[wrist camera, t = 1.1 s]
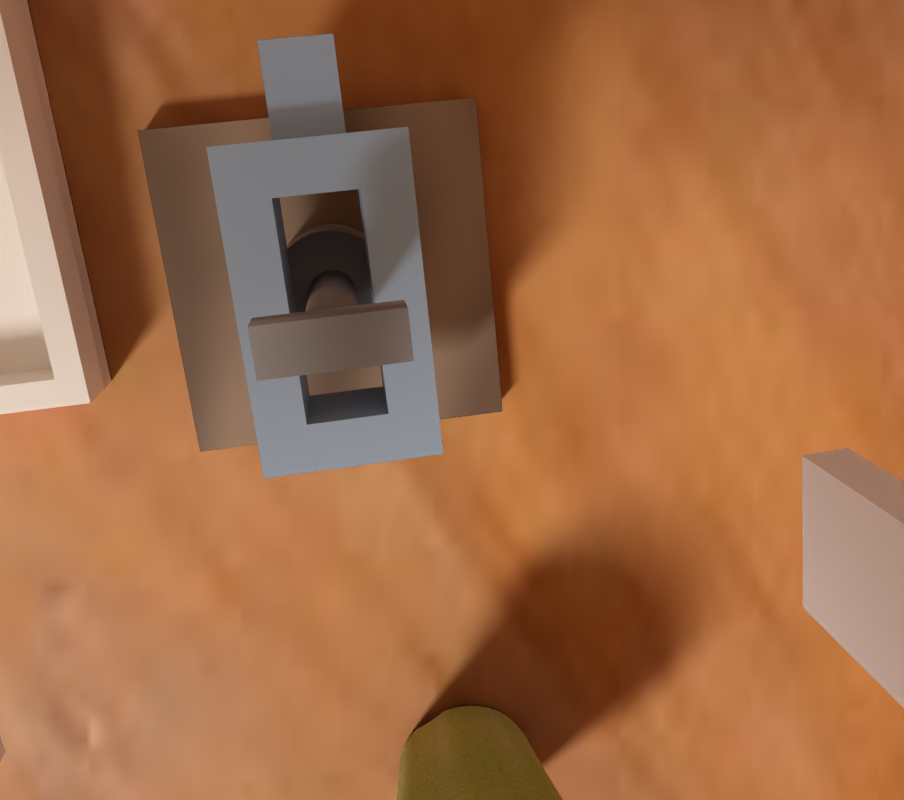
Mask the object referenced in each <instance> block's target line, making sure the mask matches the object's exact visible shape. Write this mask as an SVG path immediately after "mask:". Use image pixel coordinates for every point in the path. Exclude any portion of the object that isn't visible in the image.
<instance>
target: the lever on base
mask: <svg viewBox="0 0 904 800" xmlns="http://www.w3.org/2000/svg"><path fill="white" fill-rule="evenodd" d="M343 114H344V122H345V130H346V133H351V132H361V131H371V130H381V129H391V128H401V127H408V130H409V139H410V148H411V158H412V167H413V176H414V186H415V195H416V204H417V214H418V223H419V232H420V241H421V251H422V260H423V269H424V279H425V288H426V297H427V307H428V316H429V325H430V334H431V344H432V353H433V362H434V372H435V381H436V390H437V399H438V409H439V418H440V420H441V419H448V418H456V417H463V416H471V415H478V414H486V413H493V412H501V411H502V400H501V388H500V377H499V365H498V353H497V341H496V330H495V318H494V306H493V294H492V283H491V271H490V259H489V247H488V236H487V224H486V212H485V200H484V189H483V177H482V165H481V153H480V142H479V130H478V118H477V106H476V97H475V98H464V99H454V100H444V101H434V102H424V103H413V104H403V105H393V106H383V107H372V108H362V109H352V110H343ZM138 135H139V140H140V145H141V150H142V156H143V161H144V166H145V171H146V176H147V181H148V186H149V192H150V197H151V202H152V207H153V212H154V217H155V222H156V227H157V233H158V238H159V243H160V248H161V253H162V258H163V263H164V269H165V274H166V279H167V284H168V289H169V294H170V299H171V305H172V310H173V315H174V320H175V325H176V330H177V335H178V340H179V346H180V351H181V356H182V361H183V366H184V371H185V376H186V382H187V387H188V392H189V397H190V402H191V407H192V412H193V417H194V423H195V428H196V433H197V438H198V443H199V448H200V452H203V451H210V450H218V449H225V448H233V447H240V446H247V445H255V444H258V443H257V437H256V431H255V425H254V420H253V414H252V408H251V402H250V397H249V391H248V385H247V379H246V374H245V368H244V362H243V356H242V351H241V345H240V339H239V333H238V328H237V322H236V316H235V310H234V304H233V299H232V293H231V287H230V281H229V276H228V270H227V264H226V258H225V253H224V247H223V241H222V235H221V230H220V224H219V218H218V212H217V207H216V201H215V195H214V189H213V183H212V178H211V172H210V166H209V160H208V155H207V149H206V147H212V146H222V145H232V144H242V143H251V142H261V141H271V140H272V136H271V129H270V123H269V118H260V119H250V120H240V121H229V122H219V123H209V124H199V125H188V126H178V127H168V128H158V129H148V130H138ZM280 204H281V210H282V217H283V223H284V230H285V237H286V243H287V250H288V256H289V263H290V269H291V276H292V283H293V289H294V296H295V302H296V309H297V313H289V314H280V315H272V316H264V317H255V318H252V319H251V321H250V323H249V325H248V333H249V339H250V345H251V351H252V356H253V362H254V368H255V374H256V380H257V381H262V380H269V379H277V378H285V377H293V376H301V375H307V381H308V388H309V394H310V396H311V395H319V394H327V393H334V392H342V391H350V390H358V389H365V388H373V387H381V386H383V383H382V375H381V367H380V365H387V364H395V363H403V362H411V361H414V356H413V348H412V339H411V330H410V321H409V313H408V307H407V304H406V302H405V300H397V301H389V302H380V303H372V295H371V287H370V280H369V272H368V264H367V256H366V248H365V240H364V232H363V224H362V216H361V208H360V200H359V192H358V189H354V190H345V191H336V192H326V193H317V194H307V195H298V196H289V197H280Z"/></svg>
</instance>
